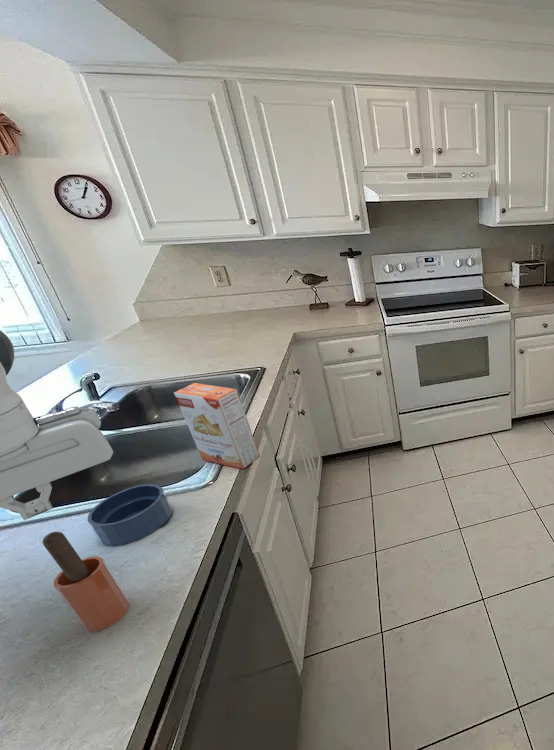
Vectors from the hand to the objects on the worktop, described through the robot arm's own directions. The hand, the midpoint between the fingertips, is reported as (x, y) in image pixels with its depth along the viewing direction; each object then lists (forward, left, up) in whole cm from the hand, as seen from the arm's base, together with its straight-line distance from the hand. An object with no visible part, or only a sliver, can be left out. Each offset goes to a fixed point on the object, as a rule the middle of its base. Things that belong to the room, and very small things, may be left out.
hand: (38, 512), depth 59 cm
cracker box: (+10, +42, -24) cm, 50 cm away
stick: (0, 0, -23) cm, 23 cm away
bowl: (-4, +23, -23) cm, 33 cm away
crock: (0, 0, -23) cm, 23 cm away
